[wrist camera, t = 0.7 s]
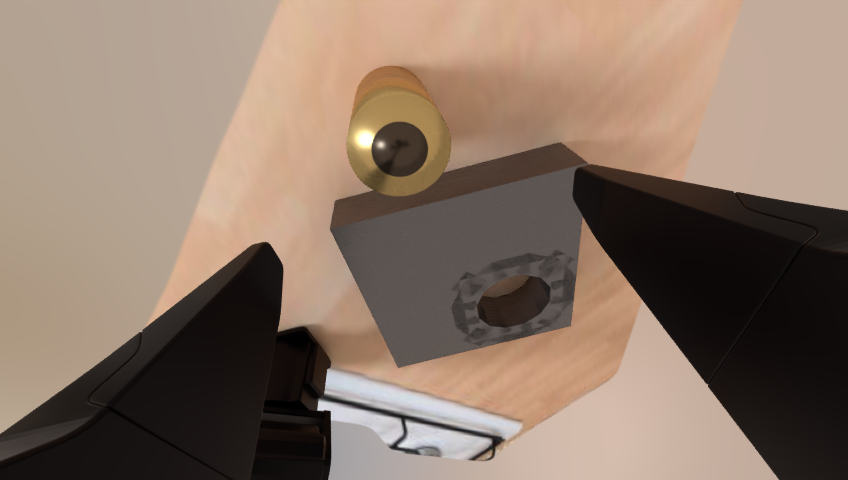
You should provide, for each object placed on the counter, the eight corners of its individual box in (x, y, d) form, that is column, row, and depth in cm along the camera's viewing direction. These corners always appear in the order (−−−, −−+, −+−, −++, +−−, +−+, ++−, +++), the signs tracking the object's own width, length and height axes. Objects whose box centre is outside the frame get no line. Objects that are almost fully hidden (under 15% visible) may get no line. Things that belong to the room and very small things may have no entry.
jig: (396, 336, 32) (398, 367, 29) (335, 200, 22) (329, 229, 20) (553, 297, 32) (571, 326, 29) (561, 142, 22) (588, 162, 19)
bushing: (368, 150, 21) (366, 207, 15) (343, 77, 18) (329, 111, 12) (434, 133, 20) (458, 183, 15) (419, 56, 18) (441, 82, 12)
